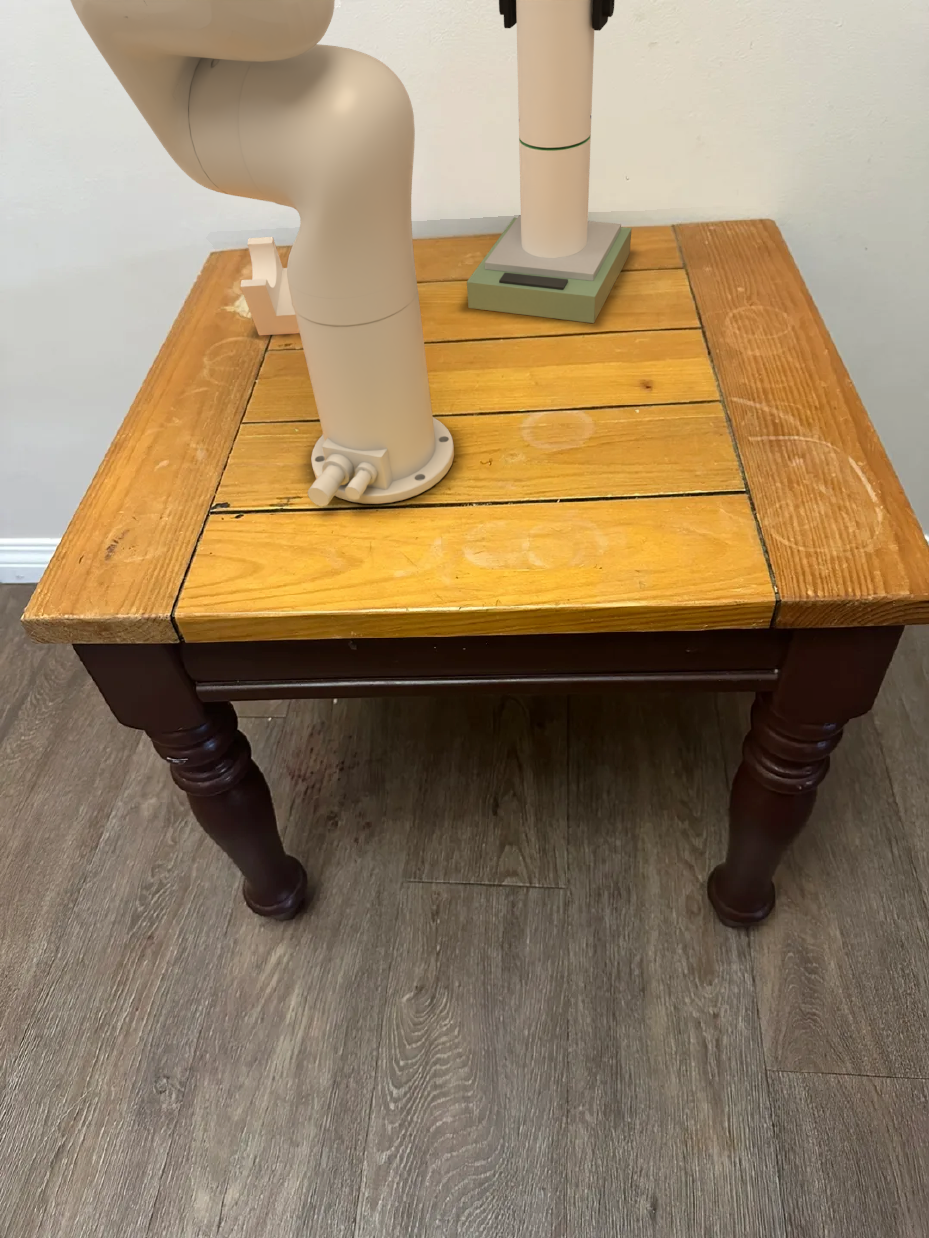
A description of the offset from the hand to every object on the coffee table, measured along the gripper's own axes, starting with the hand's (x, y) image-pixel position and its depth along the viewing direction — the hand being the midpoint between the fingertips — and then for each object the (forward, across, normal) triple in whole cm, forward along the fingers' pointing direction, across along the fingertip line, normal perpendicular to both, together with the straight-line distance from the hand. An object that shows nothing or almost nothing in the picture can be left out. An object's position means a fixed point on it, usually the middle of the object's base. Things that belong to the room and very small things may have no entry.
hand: (555, 24), depth 79 cm
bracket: (+24, -22, -15) cm, 36 cm away
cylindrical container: (+21, 0, 0) cm, 21 cm away
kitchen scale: (+24, 0, -1) cm, 24 cm away
